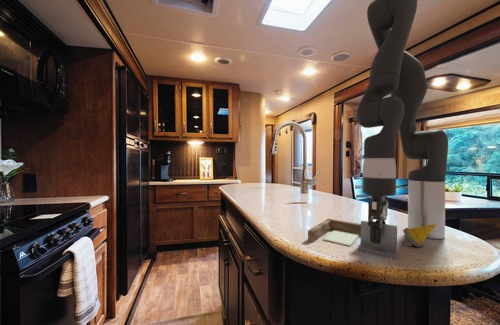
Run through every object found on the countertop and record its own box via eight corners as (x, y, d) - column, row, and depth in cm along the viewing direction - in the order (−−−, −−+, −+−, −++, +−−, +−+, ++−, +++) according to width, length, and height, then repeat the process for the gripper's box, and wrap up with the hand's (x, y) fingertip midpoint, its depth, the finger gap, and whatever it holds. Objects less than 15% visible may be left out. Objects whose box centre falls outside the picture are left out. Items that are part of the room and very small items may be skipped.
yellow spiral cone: (406, 241, 64) (439, 223, 59) (412, 256, 59) (449, 237, 54) (392, 230, 64) (424, 212, 59) (397, 244, 59) (432, 225, 54)
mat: (334, 231, 72) (334, 229, 72) (359, 235, 67) (359, 234, 67) (322, 240, 63) (322, 238, 63) (350, 246, 59) (350, 244, 59)
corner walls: (328, 227, 76) (328, 218, 76) (377, 236, 67) (377, 226, 67) (307, 240, 62) (308, 230, 62) (366, 255, 53) (367, 243, 53)
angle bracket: (396, 253, 54) (397, 225, 54) (395, 259, 51) (395, 230, 51) (361, 245, 59) (361, 220, 59) (358, 251, 56) (358, 223, 56)
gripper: (393, 178, 48) (392, 250, 48) (398, 175, 60) (397, 234, 60) (356, 176, 53) (356, 242, 53) (367, 174, 64) (367, 228, 64)
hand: (378, 238), depth 56 cm, fingers open, 8 cm apart
